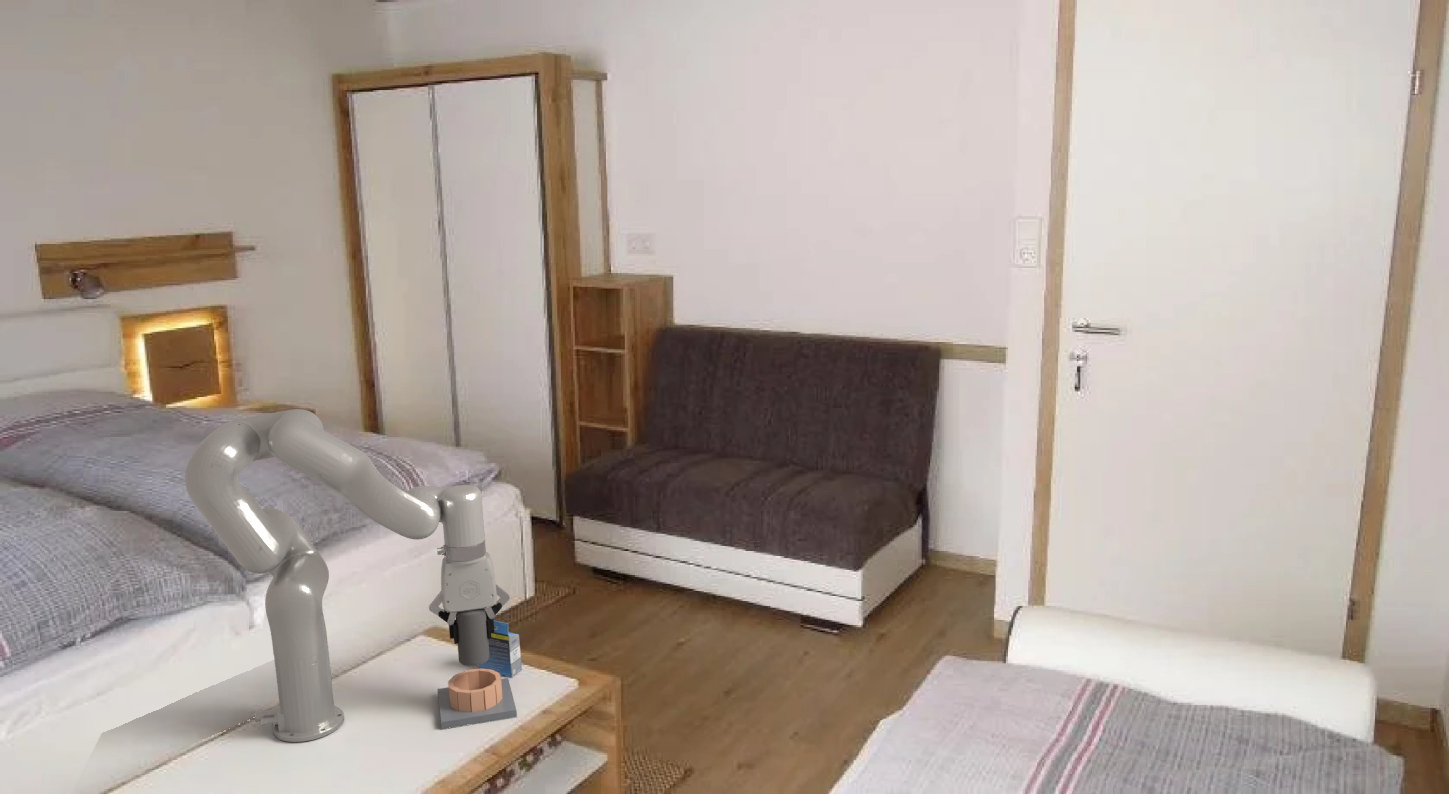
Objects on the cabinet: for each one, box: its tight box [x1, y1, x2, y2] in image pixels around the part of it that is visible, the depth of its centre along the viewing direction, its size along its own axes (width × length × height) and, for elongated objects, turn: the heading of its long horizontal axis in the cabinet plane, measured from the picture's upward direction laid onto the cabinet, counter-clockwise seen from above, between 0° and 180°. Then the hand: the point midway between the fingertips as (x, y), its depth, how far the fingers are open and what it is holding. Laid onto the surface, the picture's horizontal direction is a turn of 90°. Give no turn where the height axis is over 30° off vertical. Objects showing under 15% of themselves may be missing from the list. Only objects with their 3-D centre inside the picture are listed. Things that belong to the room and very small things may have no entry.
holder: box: [437, 668, 518, 730], centre depth 206 cm, size 14×14×6 cm
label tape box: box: [477, 620, 523, 678], centre depth 220 cm, size 9×4×12 cm, turn 65°
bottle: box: [455, 608, 489, 667], centre depth 203 cm, size 6×6×15 cm
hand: (472, 637), depth 204 cm, fingers closed on bottle, 5 cm apart
